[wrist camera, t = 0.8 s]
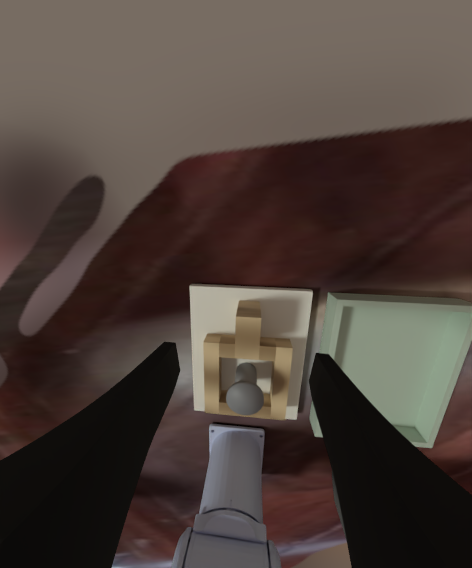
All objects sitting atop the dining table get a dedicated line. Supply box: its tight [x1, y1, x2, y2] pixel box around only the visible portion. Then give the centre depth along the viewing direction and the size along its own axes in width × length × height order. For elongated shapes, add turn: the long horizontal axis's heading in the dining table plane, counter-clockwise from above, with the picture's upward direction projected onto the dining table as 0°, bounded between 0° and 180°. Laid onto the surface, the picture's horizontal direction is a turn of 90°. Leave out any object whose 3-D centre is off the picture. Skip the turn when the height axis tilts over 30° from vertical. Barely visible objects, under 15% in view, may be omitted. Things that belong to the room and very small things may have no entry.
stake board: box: [190, 284, 313, 420], centre depth 23 cm, size 18×14×6 cm
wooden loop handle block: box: [203, 301, 293, 420], centre depth 22 cm, size 14×10×4 cm
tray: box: [309, 292, 472, 448], centre depth 23 cm, size 18×14×2 cm
